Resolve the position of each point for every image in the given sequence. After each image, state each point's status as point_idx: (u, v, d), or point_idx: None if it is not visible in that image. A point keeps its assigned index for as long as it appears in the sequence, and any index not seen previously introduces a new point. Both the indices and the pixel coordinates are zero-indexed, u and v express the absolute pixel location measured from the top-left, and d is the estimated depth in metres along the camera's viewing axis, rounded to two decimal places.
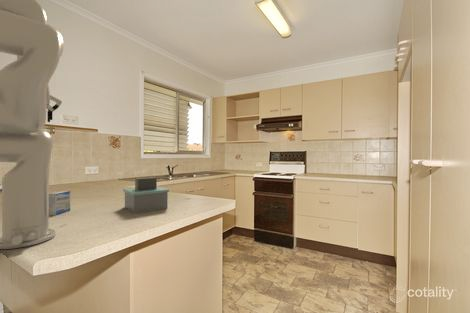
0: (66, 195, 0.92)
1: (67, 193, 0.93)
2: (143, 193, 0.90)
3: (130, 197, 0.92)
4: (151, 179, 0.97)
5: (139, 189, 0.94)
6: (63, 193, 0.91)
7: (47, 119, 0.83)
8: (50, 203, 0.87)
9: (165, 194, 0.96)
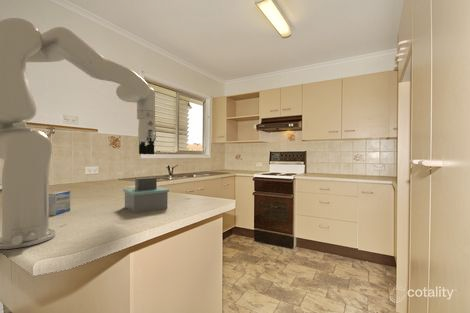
0: (66, 195, 0.92)
1: (67, 193, 0.93)
2: (143, 193, 0.90)
3: (130, 197, 0.92)
4: (151, 179, 0.97)
5: (139, 189, 0.94)
6: (63, 193, 0.91)
7: (140, 152, 1.00)
8: (50, 203, 0.87)
9: (165, 194, 0.96)
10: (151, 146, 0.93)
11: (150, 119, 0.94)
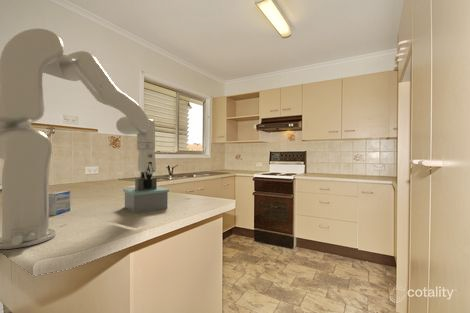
0: (66, 195, 0.92)
1: (67, 193, 0.93)
2: (143, 193, 0.90)
3: (130, 197, 0.92)
4: None
5: (139, 189, 0.94)
6: (63, 193, 0.91)
7: None
8: (50, 203, 0.87)
9: (165, 194, 0.96)
10: (149, 181, 0.95)
11: (150, 151, 0.94)
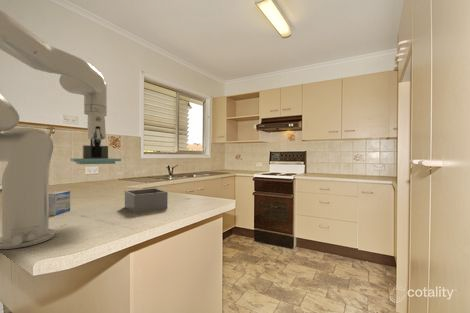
0: (66, 195, 0.92)
1: (67, 193, 0.93)
2: (87, 160, 0.79)
3: (130, 197, 0.92)
4: None
5: (85, 157, 0.83)
6: (63, 193, 0.91)
7: None
8: (50, 203, 0.87)
9: (165, 194, 0.96)
10: (97, 148, 0.84)
11: (98, 114, 0.83)
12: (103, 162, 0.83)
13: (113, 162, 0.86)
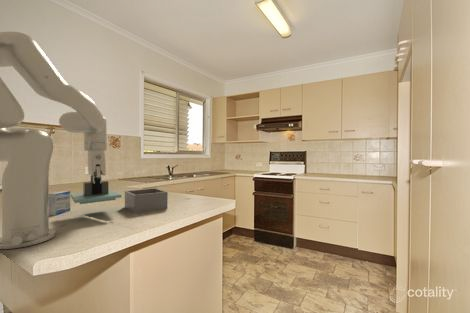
0: (66, 195, 0.92)
1: (67, 193, 0.93)
2: (88, 200, 0.79)
3: (130, 197, 0.92)
4: None
5: (86, 195, 0.83)
6: (63, 193, 0.91)
7: None
8: (50, 203, 0.87)
9: (165, 194, 0.96)
10: (97, 185, 0.85)
11: (98, 152, 0.83)
12: (104, 199, 0.84)
13: (113, 198, 0.86)
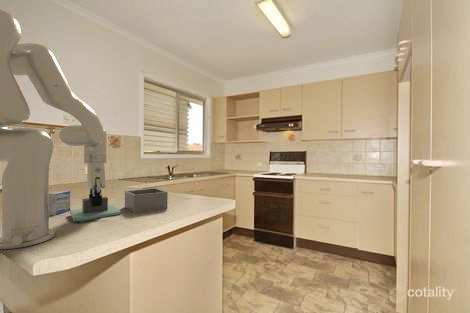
0: (66, 195, 0.92)
1: (67, 193, 0.93)
2: (87, 217, 0.79)
3: (130, 197, 0.92)
4: None
5: (85, 212, 0.83)
6: (63, 193, 0.91)
7: None
8: (50, 203, 0.87)
9: (165, 194, 0.96)
10: (97, 198, 0.83)
11: (98, 165, 0.83)
12: (103, 216, 0.83)
13: None
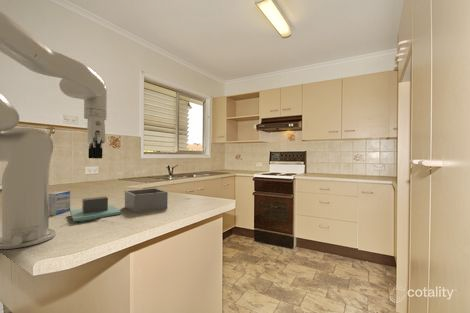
0: (66, 195, 0.92)
1: (67, 193, 0.93)
2: (87, 217, 0.79)
3: (130, 197, 0.92)
4: (101, 200, 0.86)
5: (85, 212, 0.83)
6: (63, 193, 0.91)
7: (89, 155, 0.89)
8: (50, 203, 0.87)
9: (165, 194, 0.96)
10: (98, 149, 0.82)
11: (98, 119, 0.83)
12: (103, 216, 0.83)
13: None
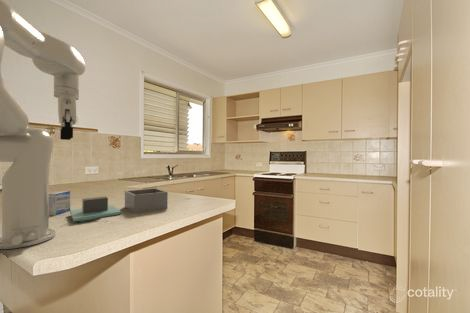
0: (66, 195, 0.92)
1: (67, 193, 0.93)
2: (87, 217, 0.79)
3: (130, 197, 0.92)
4: (101, 200, 0.86)
5: (85, 212, 0.83)
6: (63, 193, 0.91)
7: (61, 136, 0.86)
8: (50, 203, 0.87)
9: (165, 194, 0.96)
10: (68, 128, 0.79)
11: (68, 97, 0.80)
12: (103, 216, 0.83)
13: None
